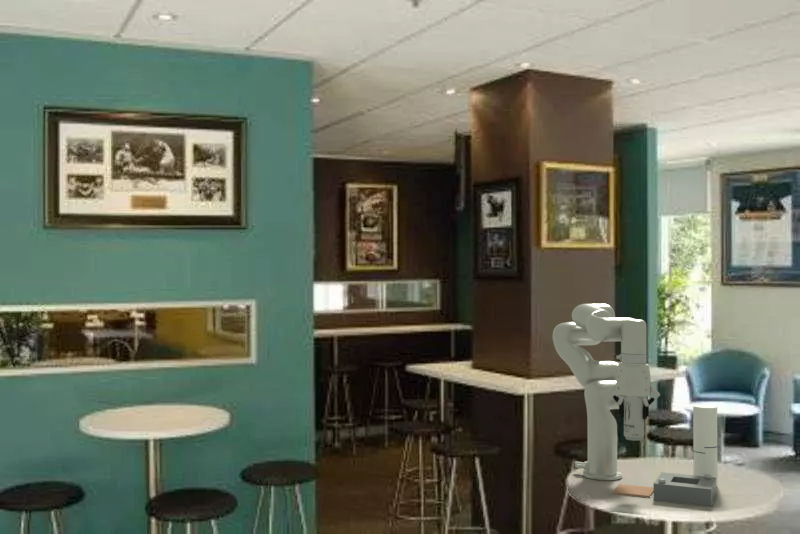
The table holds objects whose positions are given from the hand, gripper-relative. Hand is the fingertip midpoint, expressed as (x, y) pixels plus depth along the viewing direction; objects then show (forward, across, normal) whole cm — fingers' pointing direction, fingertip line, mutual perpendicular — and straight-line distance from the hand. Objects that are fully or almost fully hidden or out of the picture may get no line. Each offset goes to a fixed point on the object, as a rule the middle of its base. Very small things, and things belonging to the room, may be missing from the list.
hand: (633, 417), depth 257 cm
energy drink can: (+7, 0, 0) cm, 7 cm away
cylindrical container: (+23, +19, +18) cm, 35 cm away
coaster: (+23, 0, 0) cm, 23 cm away
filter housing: (+23, +15, 0) cm, 27 cm away
